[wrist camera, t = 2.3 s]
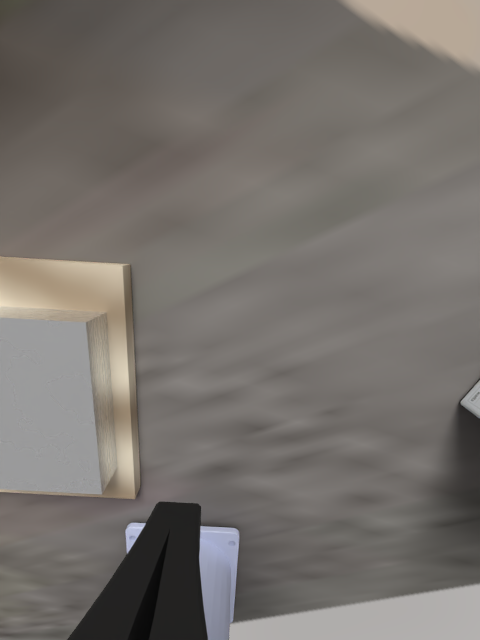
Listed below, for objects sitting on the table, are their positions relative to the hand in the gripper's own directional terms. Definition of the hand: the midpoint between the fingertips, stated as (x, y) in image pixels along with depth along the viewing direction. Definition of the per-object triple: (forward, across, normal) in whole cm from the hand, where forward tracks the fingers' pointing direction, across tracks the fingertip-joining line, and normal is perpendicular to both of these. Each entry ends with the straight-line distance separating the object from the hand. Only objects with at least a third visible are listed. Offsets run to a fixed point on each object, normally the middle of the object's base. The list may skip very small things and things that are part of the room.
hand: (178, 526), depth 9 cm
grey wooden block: (+7, +9, 0) cm, 12 cm away
